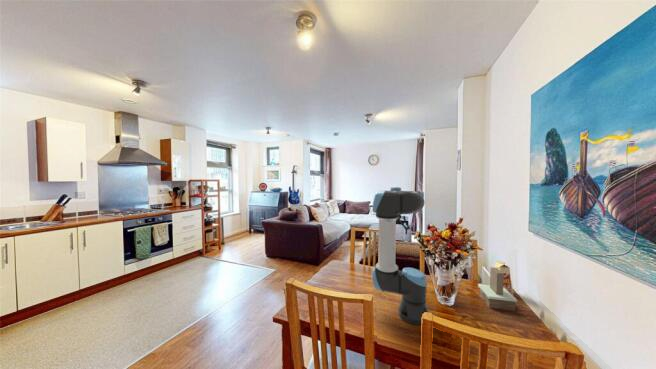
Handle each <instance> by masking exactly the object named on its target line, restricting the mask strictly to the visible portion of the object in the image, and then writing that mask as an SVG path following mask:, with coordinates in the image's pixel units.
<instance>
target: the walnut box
mask: <svg viewBox="0 0 656 369" xmlns="http://www.w3.org/2000/svg"><path fill="white" fill-rule="evenodd" d="M478 295H479V296H480V298H481V299H482V300H483V303H485V305H486V306H487V307H488V308H490V309H498V310H505V311H513V312H515V311H516V302H514V301H505V300H497V299H489V298H488V297H487V296H486V294H485V293H484V292H483V291H482V290H481V289H480V287H479V286H478Z"/></svg>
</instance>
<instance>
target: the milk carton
mask: <svg viewBox="0 0 656 369" xmlns="http://www.w3.org/2000/svg"><path fill="white" fill-rule="evenodd" d="M505 263H506V262H504V261H503V262H501V261H499V260H496V263H495V264H494V265H493V268H497V269H499V270H500V271H501V272H502V273H504V281H503V287H504V288H505V289H506V290H507V291H508V292H509V293H510V294H511V295H513V296H514V292H513V285H512V279H511V278H512V277H511V270H510V267H509V266H508V265H506V264H505Z"/></svg>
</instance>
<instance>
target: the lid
mask: <svg viewBox="0 0 656 369" xmlns="http://www.w3.org/2000/svg"><path fill="white" fill-rule="evenodd" d="M489 274H490V275H489V284H486V283H485V284H484V283H478V284H477V286H478V288H479V287H480V289H481V290H482V291H483V292H484V293H485V294H486V296H487V297H488V298H489V299H497V300H505V301H514V302H515V303H517V302H518V299H517V298H516V297H515V296H514V294H513V295H511V294H510V293H509V292H508V291H507V290H506V289H505V288H504V287H503V281H504V273H502V272H501V271H500V270H499V269H497V268H494V267H493V266H491V267H490V271H489Z"/></svg>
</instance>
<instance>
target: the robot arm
mask: <svg viewBox="0 0 656 369" xmlns="http://www.w3.org/2000/svg"><path fill="white" fill-rule="evenodd" d="M424 193H425V192H424V191H421V190H416V191H415V190H414V191H413V190H410V191H409V190H408V191H407V190H402V188H401V187H398V186H395V187H394V186H391V187H390V188H389V190H386V189H385V190H378V191H376V192H375V194H374V197H373V202H372V212H373V213H374V214H375V217H376V218H377V219H378V262H377V263H376V264H375V266H374V267H372V284H373V287H374V289H376V290H377V291H381V292H383V293H384V292H385V293H391V294H397V295H400V296H401V300H400V303H399V306H398V309H397V310H398V312H397V314H398V316H399V318H401V320H403V321H404V322H407V323H409V324H411V325H418V326H422V325H421V317H422V314H423V313H424V312H429V313H430V311H429V308H428V305H427V286H428V282H427V277H426V276H427V275H426V274H425V273H424V272H423V271H421V270H419V269H417V268H414V267H404V268H402V270H399V265H397V264H396V245H397V244H396V243H397V242H396V238H397V237H396V230H397V229H396V228H397V227H396V226H397V225H396V224H397V223H398V222H399V223H400V225H401V226H402V227H403V228H404V229H403V239H404V240H406V235H407V234H408V230H410V229H411V227H410V225H409V223H408V222H407V221H408V220H407V219H406V215H411V214H415V213H417V212H420V211H422V209H423V208H424V206H425V204H426V202H425V194H424ZM401 219H403V221H404V223H405V224H404V223H403V221H402V220H401Z"/></svg>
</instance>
